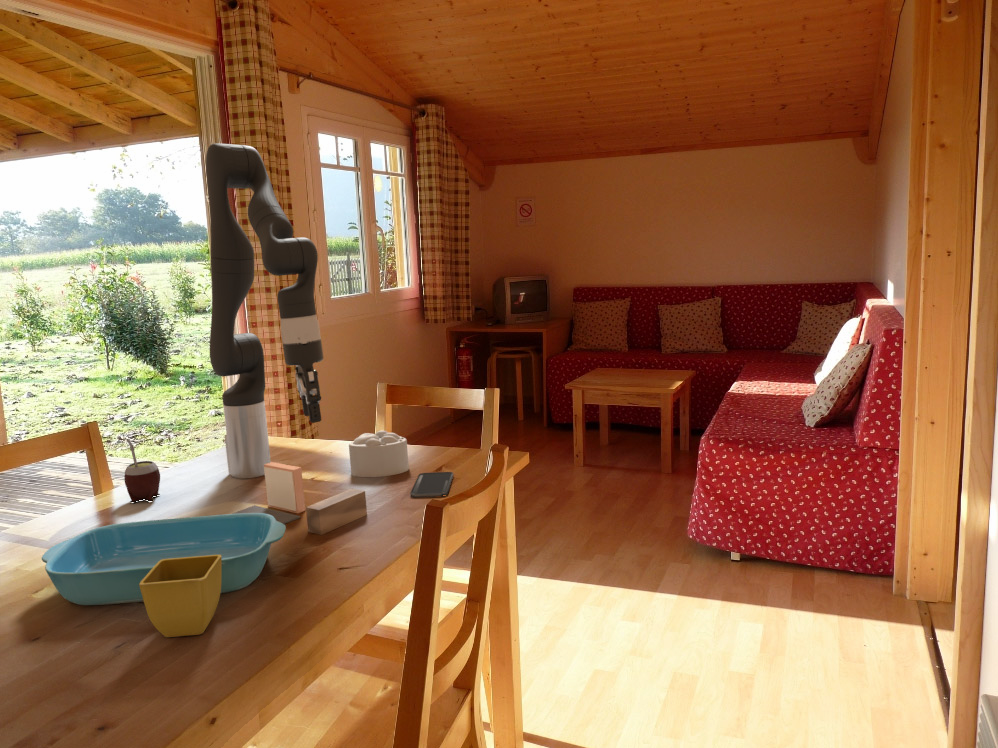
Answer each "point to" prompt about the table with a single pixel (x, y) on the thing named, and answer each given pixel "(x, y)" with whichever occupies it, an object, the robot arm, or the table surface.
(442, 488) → the phone
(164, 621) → the flower pot
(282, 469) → the tile
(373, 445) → the lumpy-topped squat cylinder
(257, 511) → the mat
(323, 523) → the bar
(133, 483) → the mate gourd
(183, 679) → the table surface
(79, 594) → the casserole dish
